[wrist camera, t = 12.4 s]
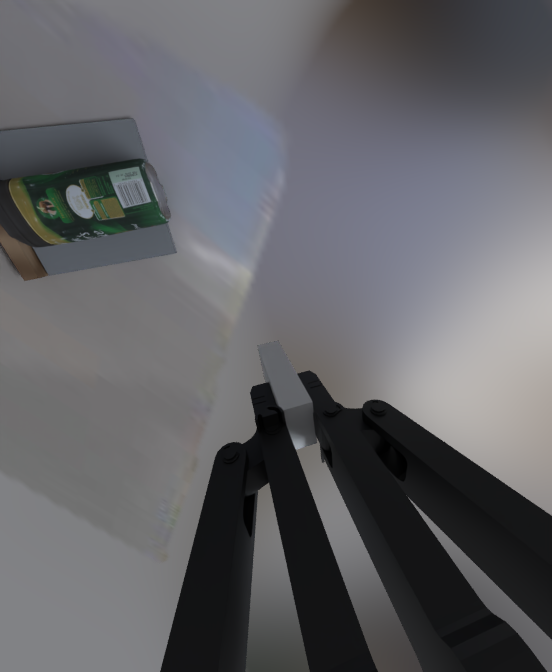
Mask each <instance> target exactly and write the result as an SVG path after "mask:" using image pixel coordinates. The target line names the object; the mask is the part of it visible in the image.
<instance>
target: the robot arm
mask: <svg viewBox="0 0 552 672" xmlns="http://www.w3.org/2000/svg"><path fill="white" fill-rule="evenodd" d="M258 351H259V356H260V360H261V365H262V369H263V374H264V379H265V382H266V383H263V384H260V385H256V386H253V387H252V389H251V392H250V394H251V399H252V404H253V408H254V413H255V422H256V426H257V430H256V433H255V434H254V436H253V437H252V438H251V439H250V440H248V441H247V442H245V443H244V444H241V443H239V442H238V443H237V442H232V443H228V444H226V445H225V446H223V447H222V448H221V449H220V450H219V451H218V452H217V455H216V457H215V460H214V464H213V468H212V472H211V476H210V480H209V484H208V488H207V492H206V495H205V499H204V503H203V507H202V511H201V515H200V519H199V523H198V527H197V530H196V535H195V538H194V542H193V546H192V550H191V554H190V558H189V562H188V566H187V570H186V573H185V577H184V582H183V585H182V589H181V593H180V597H179V601H178V605H177V609H176V612H175V617H174V620H173V624H172V628H171V632H170V636H169V640H168V644H167V648H166V652H165V655H164V659H163V663H162V667H161V671H160V672H245V669H246V653H247V640H248V626H249V625H248V624H249V611H250V597H251V582H252V568H253V553H254V538H255V525H256V510H257V495H258V490H259V489H261V488H262V487H263V486H265V485H266V484H267V483H269V484H270V489H271V493H272V498H273V503H274V508H275V512H276V517H277V522H278V526H279V531H280V535H281V540H282V545H283V549H284V554H285V559H286V563H287V568H288V573H289V577H290V582H291V586H292V591H293V595H294V600H295V605H296V610H297V614H298V619H299V624H300V628H301V633H302V637H303V642H304V646H305V651H306V656H307V660H308V665H309V669H310V672H378V671H377V669H376V666H375V664H374V662H373V659H372V657H371V654H370V651H369V649H368V646H367V644H366V641H365V638H364V635H363V632H362V630H361V627H360V624H359V621H358V619H357V616H356V613H355V611H354V608H353V605H352V602H351V600H350V597H349V595H348V591H347V589H346V586H345V583H344V581H343V578H342V575H341V572H340V570H339V567H338V564H337V562H336V559H335V556H334V553H333V550H332V548H331V545H330V542H329V540H328V537H327V534H326V531H325V529H324V526H323V523H322V521H321V518H320V515H319V512H318V510H317V507H316V504H315V501H314V499H313V496H312V493H311V490H310V488H309V485H308V482H307V480H306V477H305V474H304V471H303V469H302V466H301V463H300V460H299V458H298V455H297V452H296V449H299V448H303V447H306V446H309V445H312V444H315V443H317V439H318V441H319V443H320V450H321V459H322V462H324V459H325V461H326V464H327V466H328V467H329V470H330V472H331V474H332V476H333V478H334V481H335V483H336V485H337V487H338V489H339V491H340V493H341V495H342V498H343V500H344V502H345V504H346V506H347V508H348V510H349V512H350V515H351V517H352V519H353V521H354V523H355V525H356V527H357V530H358V532H359V534H360V536H361V538H362V540H363V542H364V545H365V547H366V549H367V551H368V553H369V555H370V557H371V560H372V562H373V564H374V566H375V568H376V570H377V572H378V574H379V577H380V579H381V581H382V583H383V585H384V587H385V589H386V592H387V593H388V596H389V598H390V600H391V602H392V604H393V607H394V609H395V611H396V613H397V615H398V617H399V619H400V621H401V624H402V626H403V628H404V630H405V632H406V634H407V636H408V638H409V641H410V642H411V645H412V647H413V649H414V651H415V653H416V655H417V658H418V660H419V662H420V665H421V667H422V670H423V672H547V671H546V670H545V668H544V667H543V666H542V664H541V663H540V661H539V660H538V659H537V657H536V656H535V655H534V653H533V652H532V651H531V649H530V648H529V647H528V646H527V644H526V643H525V642H524V641H523V639H522V638H521V637H520V636H519V635H518V633H516V631H515V630H514V629H513V628H512V627H511V626H510V625H509V624H507V623H506V622H505V621H503V620H502V619H501V618H499V617H497V616H496V615H494V614H493V613H492V612H491V611H490V610H489V609H487V607H486V606H485V605H484V604H483V602H482V601H481V600H480V598H479V597H478V596H477V594H476V593H475V591H474V590H473V589H472V587H471V586H470V584H469V583H468V582H467V580H466V579H465V577H464V576H463V574H462V573H461V572H460V570H459V569H458V567H457V566H456V565H455V563H454V562H453V561H452V559H451V558H450V556H449V555H448V553H447V552H446V550H445V549H444V548H443V546H442V545H441V543H440V542H439V541H438V540H437V538H436V537H435V535H434V534H433V532H432V531H431V530H430V528H429V527H428V525H427V524H426V522H425V521H424V520H423V518H422V517H421V515H420V514H419V512H418V511H417V510H416V508H415V507H414V505H413V504H412V503H411V501H410V500H409V498H410V499H411V500H412V501H413V502H414V503H415V504H416V505H417V506H418V507H419V508H420V509H421V510H422V511H423V512H424V513H425V514H426V515H427V516H428V517H429V518H430V519H431V520H432V521H433V522H434V523H435V524H436V525H437V526H438V527H439V528H440V529H441V530H442V531H443V532H444V533H445V534H446V535H447V536H448V537H449V538H450V539H451V540H452V541H453V542H454V543H455V544H456V545H457V546H458V547H459V548H460V549H461V550H462V551H463V552H464V553H465V554H466V555H467V556H468V557H469V558H470V559H471V560H472V561H473V562H474V563H475V564H476V565H477V566H478V567H479V568H480V569H481V570H482V571H483V572H484V573H486V575H487V576H488V577H489V578H490V579H491V580H492V581H493V582H494V583H495V584H496V585H497V586H498V587H499V588H500V589H501V590H502V591H503V592H504V593H505V594H506V595H507V596H508V597H509V598H510V599H511V600H512V601H513V602H514V603H515V604H516V605H518V607H519V608H521V609H522V611H524V613H525V614H527V615H528V617H529V618H530V619H532V620H533V622H535V623H536V624H537V625H538V626H539V627H540V628H541V629H542V630H543V631H544V632H545V633H546V634H547V635H548V636H549V637H550V638H551V639H552V516H551V515H550V514H548V513H546V512H545V511H544V510H542V509H541V508H539V507H538V506H537V505H535V504H534V503H532V502H531V501H529V500H528V499H526V498H525V497H523V496H522V495H521V494H519V493H518V492H516V491H515V490H513V489H512V488H510V487H509V486H507V485H506V484H505V483H503V482H502V481H500V480H499V479H497V478H496V477H494V476H493V475H491V474H490V473H489V472H487V471H486V470H484V469H483V468H481V467H480V466H478V465H477V464H475V463H474V462H473V461H471V460H470V459H468V458H467V457H465V456H464V455H462V454H461V453H459V452H458V451H457V450H455V449H454V448H452V447H451V446H449V445H448V444H446V443H445V442H443V441H442V440H440V439H439V438H438V437H436V436H435V435H433V434H432V433H430V432H429V431H427V430H426V429H424V428H423V427H422V426H420V425H419V424H417V423H416V422H414V421H413V420H411V419H410V418H408V417H407V416H406V415H404V414H403V413H401V412H400V411H398V410H397V409H395V408H394V407H392V406H391V405H390V404H388V403H386V402H384V401H381V400H370V401H367V402H365V404H363V408H360V409H359V408H358V409H349V408H344V407H343V406H342V405H341V404H339V403H337V402H335V401H334V400H333V399H332V397H331V396H330V394H329V393H328V392H327V390H326V388H325V387H324V386H323V384H322V383H321V381H320V380H319V378H318V377H317V375H316V374H314V373H313V372H311V371H306V372H302V373H298V374H297V373H296V371H295V370H294V368H293V366H292V364H291V362H290V360H289V359H288V357H287V355H286V353H285V352H284V350H283V348H282V346H281V345H280V343H279V341H274V342H270V343H266V344H262V345H258ZM316 437H317V439H316ZM406 495H407V496H408V497H409V498H408V497H407V496H406Z"/></svg>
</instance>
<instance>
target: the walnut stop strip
mask: <svg viewBox="0 0 552 672" xmlns="http://www.w3.org/2000/svg"><path fill="white" fill-rule="evenodd" d="M0 242H1V244H2V246H3V247H4V249H5V250H6V252H7V254H8V255H9V257H10V258H11V260H12V262H13V263H14V265H15V266H16V268H17V270H18V271H19V273H20V274H21V276H22V278H23V279H24V281H26V280H32V279H37V278H41V277H45V276H48V274H47V272H46V270H45V268H44V267H43V265H42V263H41V261H40V260H39V258H38V256H37V254H36V253H35V251H34V249H33V248H32V246H28V245H26V244H24V243H22V242H20V241H18V240H16V239H15V238H12V237H10V236H9V235H8V233H7V232H6V231H5V230H4V228H3V227H2V226H1V224H0Z"/></svg>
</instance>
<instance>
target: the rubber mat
mask: <svg viewBox="0 0 552 672" xmlns="http://www.w3.org/2000/svg"><path fill="white" fill-rule="evenodd" d="M139 158H140V159H144V160H146V161H148V160H147V157H146V154H145V151H144V148H143V145H142V141H141V138H140V135H139V132H138V129H137V126H136V123H135V120H134V119H133V118H132V119H122V120H111V121H101V122H90V123H79V124H69V125H58V126H48V127H37V128H27V129H16V130H6V131H0V180H7V179H10V178H11V179H12V178H19V177H26V176H33V175H40V174H47V173H54V172H59V171H66V170H72V169H77V168H84V167H90V166H97V165H102V164H107V163H114V162H119V161H125V160H132V159H139ZM33 249H34V251H35V252H36V254H37V256H38V258H39V259H40V261H41V263H42V265H43V266H44V268H45V270H46V272H47V273H48V275H49V276H50V275H55V274H61V273H67V272H72V271H78V270H84V269H89V268H95V267H101V266H106V265H112V264H118V263H123V262H129V261H135V260H140V259H146V258H152V257H157V256H163V255H169V254H174V253H177V251H176V248H175V245H174V242H173V239H172V236H171V232H170V229H169V226H168V223H166V224H162V225H157V226H153V227H148V228H142V229H137V230H132V231H128V232H123V233H119V234H114V235H109V236H104V237H99V238H94V239H88V240H83V241H78V242H72V243H66V244H60V245H54V246H47V247H38V248H37V247H33Z"/></svg>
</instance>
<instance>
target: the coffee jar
mask: <svg viewBox="0 0 552 672" xmlns="http://www.w3.org/2000/svg"><path fill="white" fill-rule="evenodd" d="M170 218H171V215H170V210H169V208H168V206H167V197H166V194H165V191H164V188H163V186H162V185H161V184H160V183H159V180H158V178H157V174H156V171H155V169H154V168H153V166H152V165H151V164H150V163H149V162H148V161H146V160H144V159H140V158H139V159H132V160H125V161H119V162H114V163H107V164H102V165H97V166H90V167H84V168H77V169H72V170H66V171H59V172H54V173H47V174H40V175H33V176H26V177H19V178H12V179H11V178H10V179H7V180H0V224H1V226H2V227H3V228H4V230H5V231H6V232H7V233H8V235H9V236H10V237H12V238H15V239H16V240H18V241H20V242H22V243H24V244H26V245H28V246H32V247H37V248H38V247H47V246H54V245H60V244H66V243H72V242H78V241H83V240H88V239H94V238H99V237H104V236H109V235H114V234H119V233H123V232H128V231H132V230H137V229H142V228H148V227H153V226H157V225H162V224H166V223H168V222H169V220H170Z"/></svg>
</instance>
